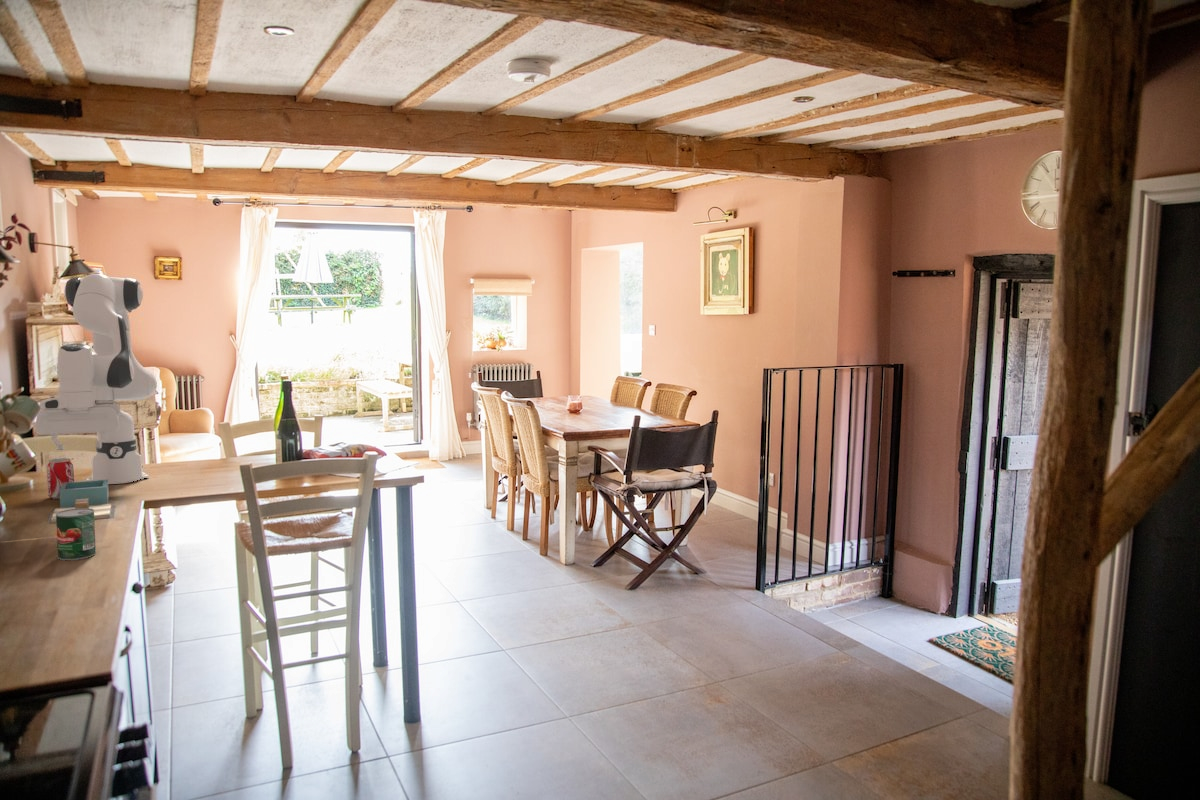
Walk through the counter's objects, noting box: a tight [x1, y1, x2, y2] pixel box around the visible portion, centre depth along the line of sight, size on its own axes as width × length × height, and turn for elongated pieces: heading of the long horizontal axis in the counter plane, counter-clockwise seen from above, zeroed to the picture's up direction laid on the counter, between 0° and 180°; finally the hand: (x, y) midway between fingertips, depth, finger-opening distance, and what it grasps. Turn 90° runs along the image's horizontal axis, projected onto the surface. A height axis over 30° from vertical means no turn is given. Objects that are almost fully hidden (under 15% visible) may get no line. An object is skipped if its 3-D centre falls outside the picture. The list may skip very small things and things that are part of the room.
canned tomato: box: [55, 508, 97, 561], centre depth 197 cm, size 8×8×11 cm
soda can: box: [46, 457, 75, 500], centre depth 255 cm, size 7×7×12 cm
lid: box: [51, 498, 112, 524], centre depth 234 cm, size 14×14×4 cm
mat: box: [46, 505, 116, 525], centre depth 234 cm, size 16×16×1 cm
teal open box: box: [59, 479, 110, 508], centre depth 247 cm, size 12×12×6 cm
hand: (79, 448), depth 232 cm, fingers open, 8 cm apart
